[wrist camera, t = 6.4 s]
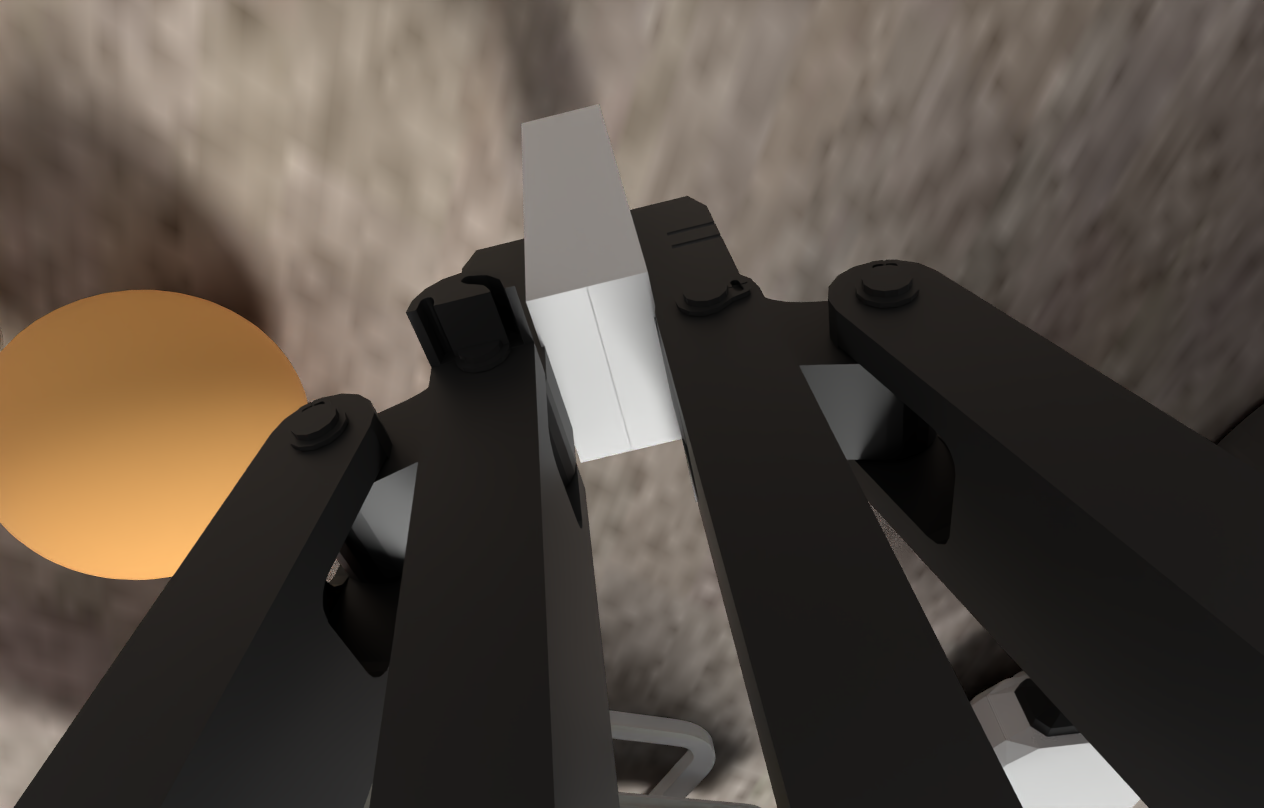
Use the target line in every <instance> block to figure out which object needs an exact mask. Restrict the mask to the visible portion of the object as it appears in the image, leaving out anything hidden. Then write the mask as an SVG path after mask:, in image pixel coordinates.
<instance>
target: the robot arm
mask: <svg viewBox="0 0 1264 808" xmlns="http://www.w3.org/2000/svg"><path fill="white" fill-rule="evenodd" d="M521 126H522V166H523V206H524V239H521V240H517V241H513V242H509V243H505V244H500V245H496V246H492V247H488V248H484V249H480V250H476V252H475V253H474V254H473V255H472V257H471V258H470V259H469V261H468V262H467V263H466V265H465V266H464V267H463V268H462V273H460V274H457V275H454V276H451V277H448V278H445V279H442V280H441V281H439V282H437V283H435V284H433V285H432V286H430V287H428V288H426V289H425V290H424V291H423V292H421V293H420V294H419V295H418V296H417V297H416V298H415V299H414V300H412V302H411V304H410V306H409V308H408V310H407V312H406V314H407V316H408V318H409V320H410V322H411V324H412V326H413V329H414V331H415V333H416V335H417V337H418V339H419V342H420V344H421V346H422V348H423V350H424V352H425V354H426V357H427V359H428V361H429V363H430V365H431V367H432V368H431V375H430V382H429V387H428V388H427V389H426V390H424V391H423V392H421V393H420V394H418V395H416V396H414V397H412V398H410V399H408V400H406V401H404V402H402V403H400V404H398V405H395V406H393V407H391V408H389V409H386V410H384V411H382V412H380V413H378V414H377V412H376V410H375V409H374V407H373V405H372V403H371V401H370V400H368V399H366V398H364V397H362V396H361V395H358V394H338V395H334V396H329V397H323V398H320V399H317V400H314V401H313V402H312V403H311V402H310V403H308V404H306V405H304V406H302V407H300V408H299V409H298V410H297V411H295V412H294V413H292V414H291V415H290V416H288V417H287V418H285V419H284V420H283V421H282V422H281V423H280V424H279V425H278V426H277V428H276V429H275V430H274V431H273V432H272V433H271V434H270V436H269V437H268V439H267V440H266V441H265V443H264V444H263V446H262V447H261V449H260V450H259V452H258V453H257V455H256V456H255V457H254V459H253V460H252V462H251V463H250V465H249V466H248V468H247V469H246V471H245V472H244V473H243V475H242V476H241V478H240V479H239V481H238V482H237V484H236V485H235V487H234V488H233V489H232V491H231V492H230V494H229V495H228V497H227V498H226V500H225V501H224V503H223V504H222V505H221V507H220V508H219V510H218V511H217V513H216V514H215V516H214V517H213V518H212V520H211V521H210V523H209V524H208V526H207V527H206V529H205V530H204V532H203V533H202V534H201V536H200V537H199V539H198V540H197V542H196V543H195V545H194V546H193V548H192V549H191V550H190V552H189V553H188V555H187V556H186V558H185V559H184V561H183V562H182V564H181V565H180V566H179V568H178V569H177V571H176V572H175V574H174V575H173V577H172V578H171V580H170V581H169V582H168V584H167V585H166V587H165V588H164V590H163V591H162V593H161V594H160V596H159V597H158V598H157V600H156V601H155V603H154V604H153V606H152V607H151V609H150V610H149V612H148V613H147V614H146V616H145V617H144V619H143V620H142V622H141V623H140V625H139V626H138V628H137V629H136V630H135V632H134V633H133V635H132V636H131V638H130V639H129V641H128V642H127V644H126V645H125V646H124V648H123V649H122V651H121V652H120V654H119V655H118V657H117V658H116V660H115V661H114V662H113V664H112V665H111V667H110V668H109V670H108V671H107V673H106V674H105V676H104V677H103V678H102V680H101V681H100V683H99V684H98V686H97V687H96V689H95V690H94V692H93V693H92V694H91V696H90V697H89V699H88V700H87V702H86V703H85V705H84V706H83V708H82V709H81V710H80V712H79V713H78V715H77V716H76V718H75V719H74V721H73V722H72V724H71V725H70V726H69V728H68V729H67V731H66V732H65V734H64V735H63V737H62V738H61V739H60V741H59V742H58V744H57V745H56V747H55V748H54V750H53V751H52V753H51V754H50V755H49V757H48V758H47V760H46V761H45V763H44V764H43V766H42V767H41V769H40V770H39V771H38V773H37V774H36V776H35V777H34V779H33V780H32V782H31V783H30V785H29V786H28V787H27V789H26V790H25V792H24V793H23V795H22V796H21V798H20V799H19V801H18V802H17V803H16V805H15V806H14V808H364V805H365V803H366V800H367V797H368V794H369V791H370V789H371V786H372V791H371V798H370V805H369V808H620V805H619V796H618V787H617V777H616V768H615V759H614V750H613V741H612V731H611V722H610V713H609V704H608V695H607V686H606V676H605V667H604V658H603V649H602V640H601V631H600V621H599V612H598V603H597V594H596V585H595V576H594V566H593V557H592V548H591V539H590V530H589V521H588V511H587V502H586V493H585V487H584V484H583V481H582V478H581V476H580V473H579V470H578V467H577V464H576V457H575V447H576V450H577V453H578V456H579V458H580V461H581V463H582V462H586V461H591V460H595V459H599V458H603V457H607V456H612V455H616V454H620V453H624V452H629V451H633V450H637V449H641V448H646V447H650V446H654V445H658V444H662V443H667V442H671V441H675V440H679V439H682V440H683V445H684V450H685V454H686V459H687V463H688V468H689V473H690V477H691V482H692V486H693V491H694V496H695V500H696V502H698V506H699V509H700V513H701V517H702V521H703V525H704V529H705V532H706V536H707V540H708V544H709V548H710V551H711V555H712V559H713V563H714V567H715V571H716V574H717V578H718V582H719V586H720V590H721V594H722V597H723V601H724V605H725V609H726V613H727V617H728V620H729V624H730V628H731V632H732V636H733V640H734V643H735V647H736V651H737V655H738V659H739V663H740V666H741V670H742V674H743V678H744V682H745V686H746V689H747V693H748V697H749V701H750V705H751V708H752V712H753V716H754V720H755V724H756V728H757V731H758V735H759V739H760V743H761V747H762V751H763V754H764V758H765V762H766V766H767V770H768V774H769V777H770V781H771V785H772V789H773V793H774V797H775V800H776V804H777V808H1023V807H1022V805H1021V803H1020V801H1019V799H1018V797H1017V795H1016V793H1015V791H1014V789H1013V787H1012V785H1011V783H1010V781H1009V779H1008V777H1007V775H1006V773H1005V771H1004V769H1003V767H1002V765H1001V763H1000V761H999V759H998V757H997V755H996V753H995V751H994V749H993V747H992V745H991V743H990V742H989V740H988V738H987V736H986V734H985V732H984V730H983V728H982V726H981V724H980V722H979V720H978V718H977V716H976V714H975V712H974V710H973V708H972V706H971V704H970V702H969V700H968V698H967V696H966V694H965V692H964V690H963V688H962V686H961V684H960V682H959V680H958V678H957V676H956V674H955V672H954V670H953V668H952V667H951V665H950V663H949V661H948V659H947V657H946V655H945V653H944V651H943V649H942V647H941V645H940V643H939V641H938V639H937V637H936V635H935V633H934V631H933V629H932V627H931V625H930V623H929V621H928V619H927V617H926V615H925V613H924V611H923V609H922V607H921V605H920V603H919V601H918V599H917V597H916V595H915V593H914V592H913V590H912V588H911V586H910V584H909V582H908V580H907V578H906V576H905V574H904V572H903V570H902V568H901V566H900V564H899V562H898V560H897V558H896V556H895V554H894V552H893V550H892V548H891V546H890V544H889V542H888V540H887V538H886V536H885V534H884V532H883V530H882V528H881V526H880V524H879V522H878V520H877V518H876V517H875V515H874V513H873V511H872V509H871V507H870V505H869V503H868V501H869V502H870V504H871V505H872V506H873V507H874V508H875V509H876V510H877V511H878V512H879V513H880V515H881V516H882V517H883V518H884V519H885V520H886V521H887V522H888V523H889V524H890V525H891V527H892V528H893V529H894V530H895V531H896V532H897V533H898V534H899V535H900V536H901V537H902V539H903V540H904V541H905V542H906V543H907V544H908V545H909V546H910V547H911V548H912V549H913V551H914V552H915V553H916V554H917V555H918V556H919V557H920V558H921V559H922V560H923V562H924V563H925V564H926V565H927V566H928V567H929V568H930V569H931V570H932V571H933V572H934V574H935V575H936V576H937V577H938V578H939V579H940V580H941V581H942V582H943V583H944V584H945V586H946V587H947V588H948V589H949V590H950V591H951V592H952V593H953V594H954V595H955V596H956V598H957V599H958V600H959V601H960V602H961V603H962V604H963V605H964V606H965V607H966V609H967V610H968V611H969V612H970V613H971V614H972V615H973V616H974V617H975V618H976V619H977V621H978V622H979V623H980V624H981V625H982V626H983V627H984V628H985V629H986V630H987V631H988V633H989V634H990V635H991V636H992V637H993V638H994V639H995V640H996V641H997V642H998V643H999V645H1000V646H1001V647H1002V648H1003V649H1004V650H1005V651H1006V652H1007V653H1008V654H1009V656H1010V657H1011V658H1012V659H1013V660H1014V661H1015V662H1016V663H1017V664H1018V665H1019V666H1020V668H1021V669H1022V670H1023V671H1024V672H1025V673H1026V674H1027V675H1028V676H1029V677H1030V678H1031V680H1032V681H1033V682H1034V683H1035V684H1036V685H1037V686H1038V687H1039V688H1040V689H1041V690H1042V692H1043V693H1044V694H1045V695H1046V696H1047V697H1048V698H1049V699H1050V700H1051V701H1052V703H1053V704H1054V705H1055V706H1056V707H1057V708H1058V709H1059V710H1060V711H1061V712H1062V713H1063V715H1064V716H1065V717H1066V718H1067V719H1068V720H1069V721H1070V722H1071V723H1072V724H1073V725H1074V727H1075V728H1076V729H1077V730H1078V731H1079V732H1080V733H1081V734H1082V735H1083V736H1084V737H1085V739H1086V740H1087V741H1088V742H1089V743H1090V744H1091V745H1092V746H1093V747H1094V748H1095V750H1096V751H1097V752H1098V753H1099V754H1100V755H1101V756H1102V757H1103V758H1104V759H1105V760H1106V762H1107V763H1108V764H1109V765H1110V766H1111V767H1112V768H1113V769H1114V770H1115V771H1116V772H1117V774H1118V775H1119V776H1120V777H1121V778H1122V779H1123V780H1124V781H1125V782H1126V783H1127V784H1128V786H1129V787H1130V788H1131V789H1132V790H1133V791H1134V792H1135V793H1136V794H1137V795H1138V797H1139V798H1140V799H1141V800H1142V801H1143V802H1144V803H1145V804H1146V805H1147V806H1148V807H1149V808H1264V404H1263V405H1261V406H1260V407H1259V408H1258V409H1256V410H1255V411H1254V412H1253V413H1251V414H1250V415H1249V416H1248V417H1247V418H1246V419H1244V420H1243V421H1242V422H1241V423H1240V424H1238V425H1237V426H1236V427H1235V428H1234V429H1233V430H1232V431H1231V432H1230V433H1229V434H1228V435H1227V436H1225V437H1224V438H1223V439H1222V440H1221V441H1220V442H1219V443H1218V444H1217V445H1216V444H1214V443H1212V442H1211V441H1209V440H1208V439H1206V438H1204V437H1203V436H1201V435H1200V434H1198V433H1196V432H1195V431H1193V430H1192V429H1190V428H1188V427H1187V426H1185V425H1184V424H1182V423H1180V422H1179V421H1177V420H1175V419H1174V418H1172V417H1171V416H1169V415H1167V414H1166V413H1164V412H1163V411H1161V410H1159V409H1158V408H1156V407H1155V406H1153V405H1151V404H1150V403H1148V402H1147V401H1145V400H1143V399H1142V398H1140V397H1139V396H1137V395H1135V394H1134V393H1132V392H1131V391H1129V390H1127V389H1126V388H1124V387H1122V386H1121V385H1119V384H1118V383H1116V382H1114V381H1113V380H1111V379H1110V378H1108V377H1106V376H1105V375H1103V374H1102V373H1100V372H1098V371H1097V370H1095V369H1094V368H1092V367H1090V366H1089V365H1087V364H1086V363H1084V362H1082V361H1081V360H1079V359H1077V358H1076V357H1074V356H1073V355H1071V354H1069V353H1068V352H1066V351H1065V350H1063V349H1061V348H1060V347H1058V346H1057V345H1055V344H1053V343H1052V342H1050V341H1049V340H1047V339H1045V338H1044V337H1042V336H1041V335H1039V334H1037V333H1036V332H1034V331H1033V330H1031V329H1029V328H1028V327H1026V326H1024V325H1023V324H1021V323H1020V322H1018V321H1016V320H1015V319H1013V318H1012V317H1010V316H1008V315H1007V314H1005V313H1004V312H1002V311H1000V310H999V309H997V308H996V307H994V306H992V305H991V304H989V303H988V302H986V301H984V300H983V299H981V298H979V297H978V296H976V295H975V294H973V293H971V292H970V291H968V290H967V289H965V288H963V287H962V286H960V285H959V284H957V283H955V282H954V281H952V280H951V279H949V278H947V277H946V276H944V275H943V274H941V273H939V272H938V271H936V270H934V269H931V268H929V267H926V266H924V265H922V264H919V263H914V262H907V261H900V260H886V261H883V260H880V261H873V262H870V263H866V264H863V265H859V266H855V267H853V268H851V269H849V270H847V271H845V272H844V273H842V274H840V275H838V276H837V277H836V279H835V280H834V281H833V282H832V284H831V285H830V286H829V292H828V301H820V302H783V301H777V300H771V299H768V298H765V297H764V295H763V293H762V291H761V290H760V288H759V287H758V286H757V285H756V283H755V282H754V281H753V280H752V279H751V278H748V277H745V276H742V275H740V274H739V272H738V270H737V268H736V266H735V264H734V262H733V259H732V257H731V255H730V253H729V251H728V249H727V247H726V245H725V243H724V241H723V239H722V237H721V236H720V233H719V231H718V229H717V226H716V224H714V220H713V218H712V216H711V214H710V212H709V210H708V208H707V206H706V205H704V204H702V203H700V202H698V201H696V200H694V199H692V198H691V197H689V196H685V197H681V198H677V199H673V200H669V201H665V202H661V203H657V204H653V205H649V206H645V207H641V208H637V209H633V210H630V209H629V205H628V202H627V198H626V195H625V192H624V188H623V185H622V181H621V178H620V174H619V171H618V167H617V164H616V160H615V157H614V153H613V150H612V147H611V143H610V140H609V136H608V133H607V129H606V126H605V122H604V119H603V115H602V112H601V109H600V105H599V104H596V105H592V106H588V107H584V108H580V109H576V110H572V111H568V112H564V113H561V114H557V115H553V116H549V117H545V118H541V119H537V120H533V121H529V122H525V123H521ZM574 444H575V447H574ZM867 500H868V501H867ZM335 559H337V560H338V562H339V563H340V566H339V568H338V570H337V572H336V574H335V576H334V577H333V579H332V580H331V581H330V582H329V583H328V582H327V581H326V579H327V575H328V573H329V571H330V569H331V567H332V565H333V563H334V561H335ZM372 783H373V784H372Z"/></svg>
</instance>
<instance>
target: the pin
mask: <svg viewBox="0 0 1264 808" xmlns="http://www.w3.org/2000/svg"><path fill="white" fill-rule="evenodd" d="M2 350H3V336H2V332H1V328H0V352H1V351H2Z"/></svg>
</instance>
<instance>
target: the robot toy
mask: <svg viewBox="0 0 1264 808" xmlns="http://www.w3.org/2000/svg"><path fill="white" fill-rule="evenodd" d="M970 704H971V706H972V708H973V710H974V712H975V714H976V716H977V718H978V720H979V722H980V724H981V726H982V728H983V730H984V732H985V734H986V736H987V738H988V740H989V742H990V743H991V745H992V747H993V749H994V751H995V753H996V755H997V757H998V759H999V761H1000V763H1001V765H1002V767H1003V769H1004V771H1005V773H1006V775H1007V777H1008V779H1009V781H1010V783H1011V785H1012V787H1013V789H1014V791H1015V793H1016V795H1017V797H1018V799H1019V801H1020V803H1021V805H1022V807H1023V808H1132V807H1133V806H1134V805H1135V804H1136V803H1137V802H1138V801H1139V800H1140V798H1139V797H1138V795H1137V794H1136V793H1135V792H1134V791H1133V790H1132V789H1131V788H1130V787H1129V786H1128V784H1127V783H1126V782H1125V781H1124V780H1123V779H1122V778H1121V777H1120V776H1119V775H1118V774H1117V772H1116V771H1115V770H1114V769H1113V768H1112V767H1111V766H1110V765H1109V764H1108V763H1107V762H1106V760H1105V759H1104V758H1103V757H1102V756H1101V755H1100V754H1099V753H1098V752H1097V751H1096V750H1095V748H1094V747H1093V746H1092V745H1091V744H1090V743H1089V742H1088V741H1087V740H1086V739H1085V737H1084V736H1083V735H1082V734H1081V733H1080V732H1079V731H1078V730H1077V729H1076V728H1075V727H1074V725H1073V724H1072V723H1071V722H1070V721H1069V720H1068V719H1067V718H1066V717H1065V716H1064V715H1063V713H1062V712H1061V711H1060V710H1059V709H1058V708H1057V707H1056V706H1055V705H1054V704H1053V703H1052V701H1051V700H1050V699H1049V698H1048V697H1047V696H1046V695H1045V694H1044V693H1043V692H1042V690H1041V689H1040V688H1039V687H1038V686H1037V685H1036V684H1035V683H1034V682H1033V681H1032V680H1031V678H1030V677H1029V676H1028V675H1027V674H1026V673H1025V672H1024V671H1021V672H1019V673H1017V674H1015V675H1014V676H1013V677H1012V678H1008V679H1005V680H1003V681H1001V682H999V683H998V684H996V685H994V686H992V687H990V688H989V689H987V690H985V691H983V692H982V693H980V694H978V695H976V696H975V697H974V698H973V699H972V700H971V701H970Z"/></svg>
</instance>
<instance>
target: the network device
mask: <svg viewBox="0 0 1264 808" xmlns="http://www.w3.org/2000/svg"><path fill="white" fill-rule="evenodd" d="M609 713H610V722H611V731H612V738H613V739H621V740H630V741H638V742H646V743H655V744H663V745H672V746H680V747H684V748H687V749H689V750H688V751H687V752H686V753H685V754H684V755H683V756H682V758H681V759H680V760H679V761H678V762H677V763H676V764H675V765H674V767H673V768H672V769H671V770H670V771H669V772H668V773H667V774H666V776H665V777H664V778H663V779H662V780H661V781H660V782H659V783H658V784H657V786H656V787H655V788H654V789H653V790H652V791H651V792H650V793H649V795H645V794H635V793H624V792H618V796H619V805H620V808H760V807H758V806H756V805H751V804H744V803H733V802H722V801H711V800H700V799H689V798H685V797H686V796H687V795H688V794H689V793H690V792H691V791H692V790H693V789H694V788H695V787H696V786H697V785H698V784H699V783H700V782H701V781H702V780H703V778H704V777H705V776H706V775H707V774H708V773H709V772H710V770H711V769H712V768H713V766H714V763H715V760H716V759H715V751H714V746H713V741H712V738H711V736H710V735H709V733H708V732H707V731H706V730H705V729H703V728H702V727H701V726H699V725H696V724H694V723H691V722H688V721H683V720H679V719H672V718H664V717H656V716H649V715H641V714H634V713H626V712H619V711H611V710H609ZM372 784H373V783H372ZM371 791H372V786H371V789H370V791H369V794H368V797H367V800H366V803H365V805H364V808H369V805H370V798H371Z"/></svg>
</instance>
